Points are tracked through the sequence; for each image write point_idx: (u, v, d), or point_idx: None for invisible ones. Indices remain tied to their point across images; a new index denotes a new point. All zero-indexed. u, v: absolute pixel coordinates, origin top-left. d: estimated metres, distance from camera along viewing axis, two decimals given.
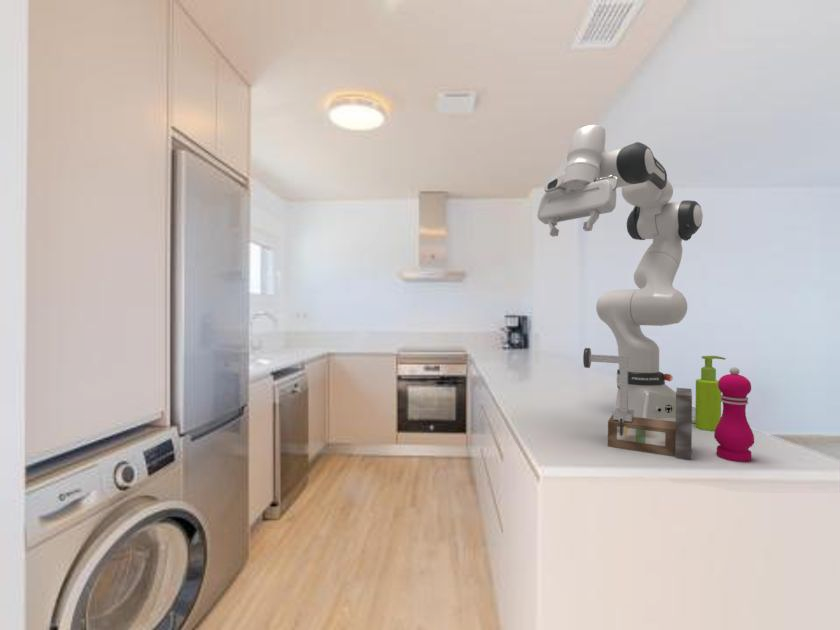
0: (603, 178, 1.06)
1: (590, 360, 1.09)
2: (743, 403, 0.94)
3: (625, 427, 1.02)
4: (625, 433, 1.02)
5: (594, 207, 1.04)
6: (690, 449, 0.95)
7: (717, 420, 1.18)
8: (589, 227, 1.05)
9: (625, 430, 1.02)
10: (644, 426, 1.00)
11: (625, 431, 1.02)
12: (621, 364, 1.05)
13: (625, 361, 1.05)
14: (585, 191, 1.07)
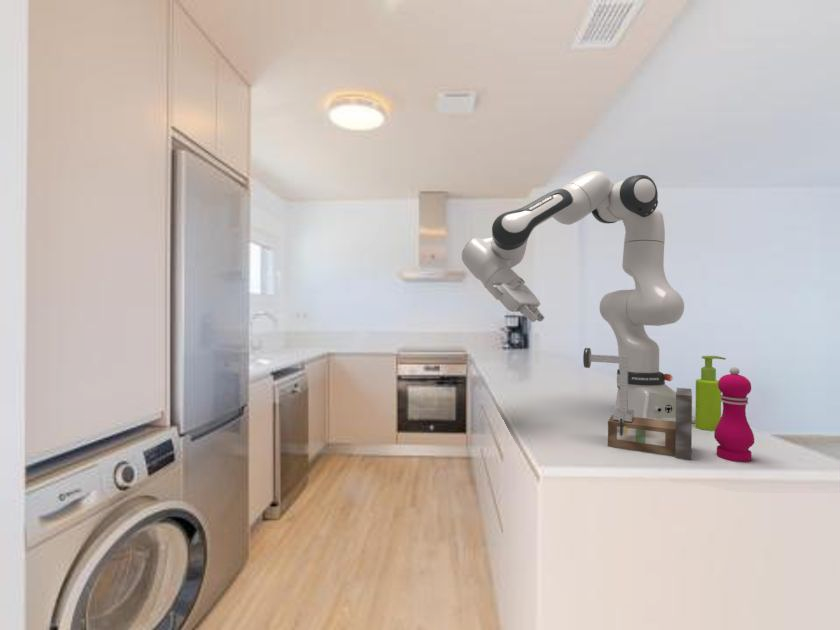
0: None
1: (590, 360, 1.09)
2: (743, 403, 0.94)
3: (625, 427, 1.02)
4: (625, 433, 1.02)
5: (514, 311, 1.14)
6: (690, 449, 0.95)
7: (717, 420, 1.18)
8: (532, 320, 1.14)
9: (625, 430, 1.02)
10: (644, 426, 1.00)
11: (625, 431, 1.02)
12: (621, 364, 1.05)
13: (625, 361, 1.05)
14: None
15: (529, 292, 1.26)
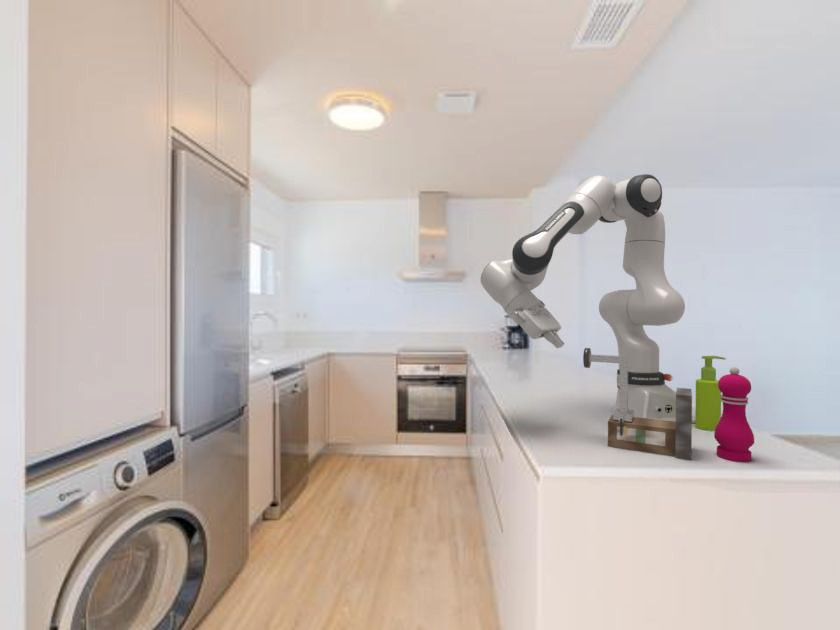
0: None
1: (590, 360, 1.09)
2: (743, 403, 0.94)
3: (625, 427, 1.02)
4: (625, 433, 1.02)
5: None
6: (690, 449, 0.95)
7: (717, 420, 1.18)
8: (557, 346, 1.13)
9: (625, 430, 1.02)
10: (644, 426, 1.00)
11: (625, 431, 1.02)
12: (621, 364, 1.05)
13: (625, 361, 1.05)
14: None
15: (550, 315, 1.23)
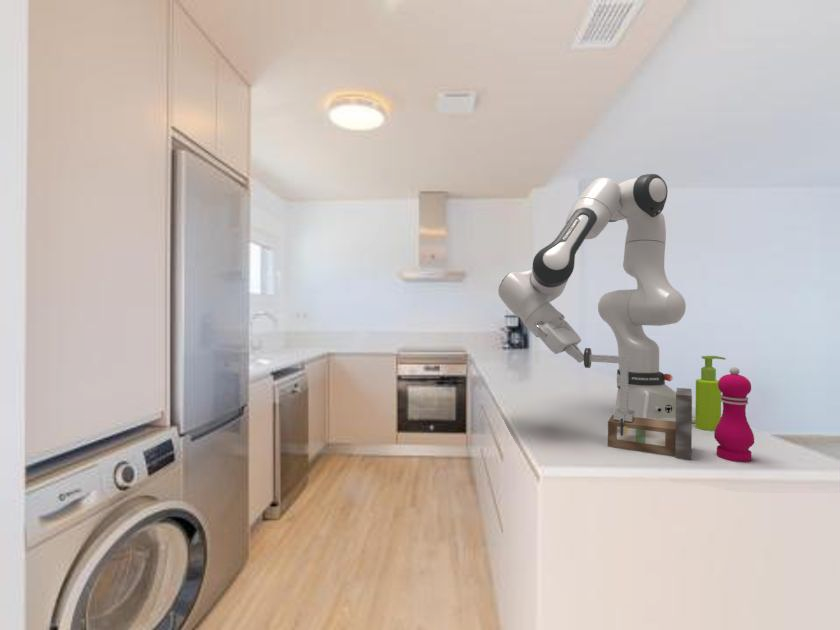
0: None
1: (590, 360, 1.09)
2: (743, 403, 0.94)
3: (625, 427, 1.02)
4: (625, 433, 1.02)
5: None
6: (690, 449, 0.95)
7: (717, 420, 1.18)
8: (579, 360, 1.10)
9: (625, 430, 1.02)
10: (644, 426, 1.00)
11: (625, 431, 1.02)
12: (621, 364, 1.05)
13: (625, 361, 1.05)
14: None
15: (569, 328, 1.20)
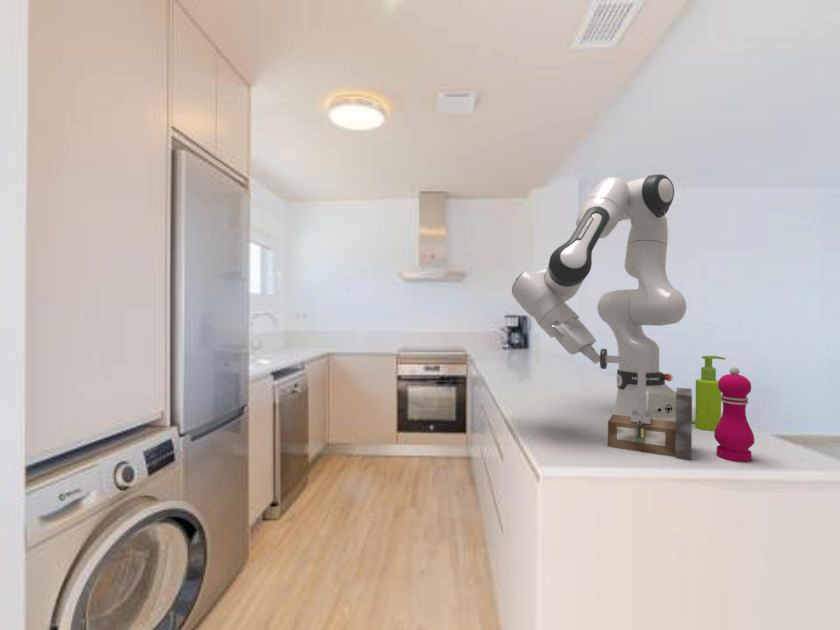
0: None
1: (607, 361, 1.07)
2: (743, 403, 0.94)
3: (642, 429, 1.00)
4: (642, 435, 1.00)
5: (574, 353, 1.06)
6: (690, 449, 0.95)
7: (717, 420, 1.18)
8: (595, 361, 1.08)
9: (642, 432, 1.00)
10: (644, 426, 1.00)
11: (642, 433, 1.00)
12: (639, 365, 1.03)
13: (643, 362, 1.03)
14: None
15: (584, 328, 1.18)
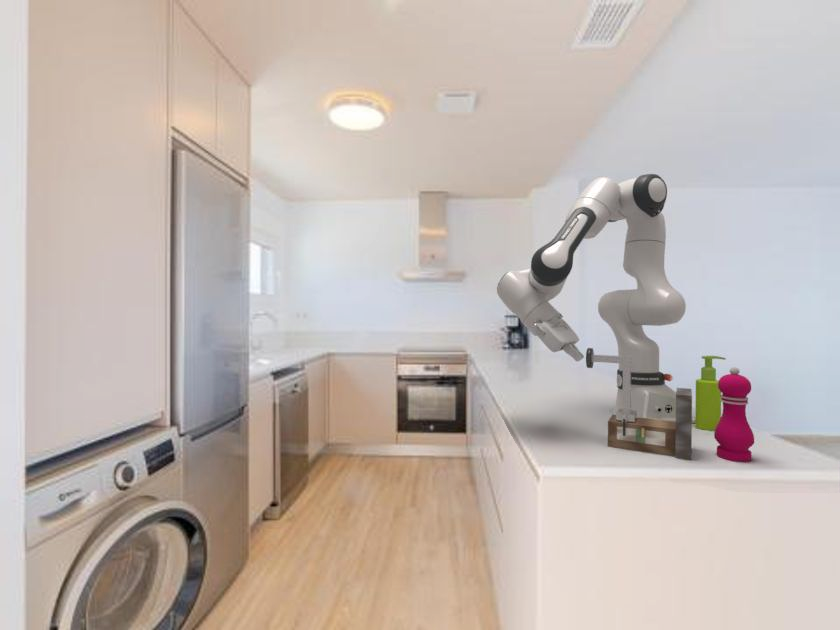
0: None
1: (593, 360, 1.09)
2: (743, 403, 0.94)
3: (643, 429, 1.00)
4: (643, 435, 1.00)
5: (556, 351, 1.08)
6: (690, 449, 0.95)
7: (717, 420, 1.18)
8: (577, 359, 1.10)
9: (643, 432, 1.00)
10: (644, 426, 1.00)
11: (643, 433, 1.00)
12: (624, 364, 1.05)
13: (628, 361, 1.05)
14: None
15: (567, 327, 1.21)
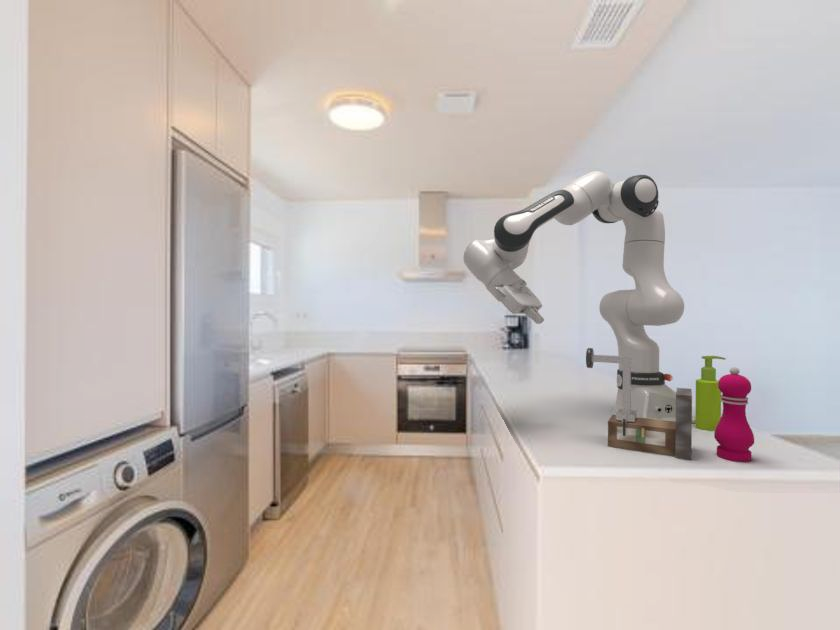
0: None
1: (593, 360, 1.09)
2: (743, 403, 0.94)
3: (643, 429, 1.00)
4: (643, 435, 1.00)
5: (516, 313, 1.13)
6: (690, 449, 0.95)
7: (717, 420, 1.18)
8: (537, 322, 1.16)
9: (643, 432, 1.00)
10: (644, 426, 1.00)
11: (643, 433, 1.00)
12: (624, 364, 1.05)
13: (628, 361, 1.05)
14: None
15: (531, 294, 1.26)
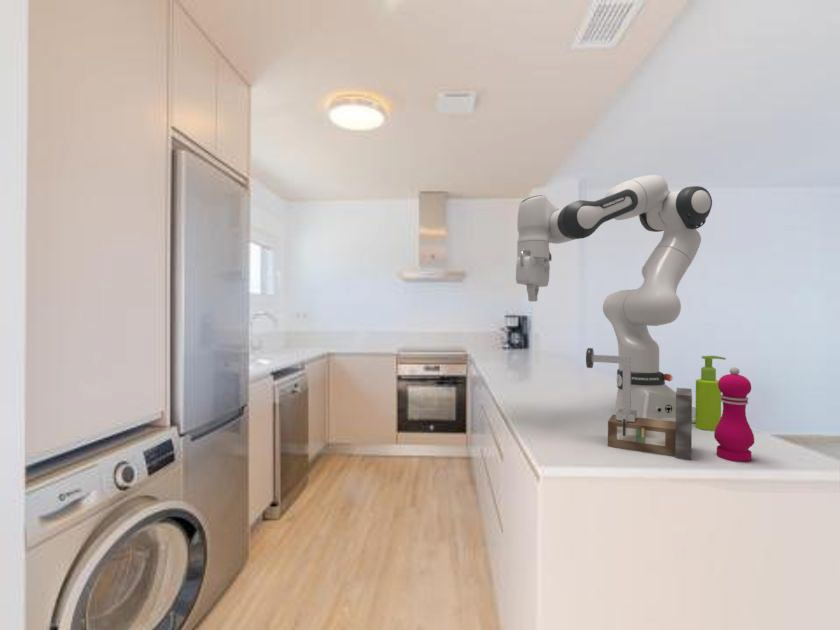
0: None
1: (593, 360, 1.09)
2: (743, 403, 0.94)
3: (643, 429, 1.00)
4: (643, 435, 1.00)
5: None
6: (690, 449, 0.95)
7: (717, 420, 1.18)
8: (530, 299, 1.24)
9: (643, 432, 1.00)
10: (644, 426, 1.00)
11: (643, 433, 1.00)
12: (624, 364, 1.05)
13: (628, 361, 1.05)
14: None
15: (547, 271, 1.31)
